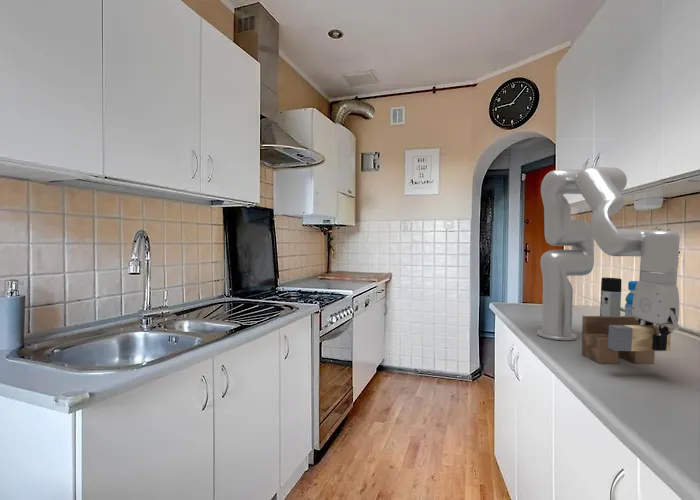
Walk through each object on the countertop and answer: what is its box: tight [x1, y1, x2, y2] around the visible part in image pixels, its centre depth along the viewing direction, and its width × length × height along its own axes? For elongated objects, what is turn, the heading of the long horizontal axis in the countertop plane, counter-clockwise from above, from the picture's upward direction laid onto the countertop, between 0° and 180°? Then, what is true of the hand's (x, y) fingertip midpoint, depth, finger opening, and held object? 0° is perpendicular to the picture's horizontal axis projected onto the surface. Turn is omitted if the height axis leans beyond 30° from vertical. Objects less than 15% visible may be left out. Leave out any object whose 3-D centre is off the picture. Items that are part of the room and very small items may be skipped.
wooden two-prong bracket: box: [581, 315, 656, 364], centre depth 111 cm, size 8×16×12 cm, turn 90°
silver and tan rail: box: [608, 324, 672, 352], centre depth 98 cm, size 14×3×6 cm, turn 90°
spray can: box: [599, 277, 623, 316], centre depth 148 cm, size 7×7×20 cm
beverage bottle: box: [624, 280, 649, 325], centre depth 136 cm, size 8×8×20 cm
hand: (653, 347), depth 98 cm, fingers closed on silver and tan rail, 3 cm apart
